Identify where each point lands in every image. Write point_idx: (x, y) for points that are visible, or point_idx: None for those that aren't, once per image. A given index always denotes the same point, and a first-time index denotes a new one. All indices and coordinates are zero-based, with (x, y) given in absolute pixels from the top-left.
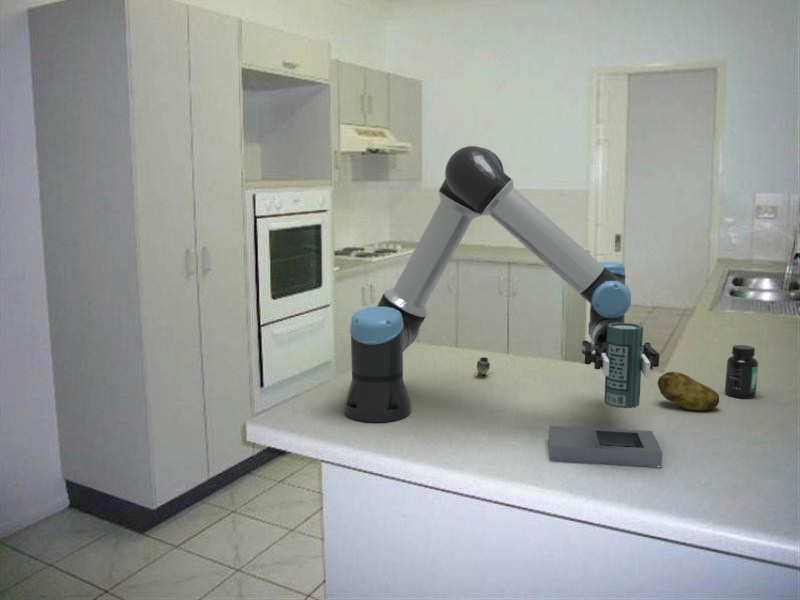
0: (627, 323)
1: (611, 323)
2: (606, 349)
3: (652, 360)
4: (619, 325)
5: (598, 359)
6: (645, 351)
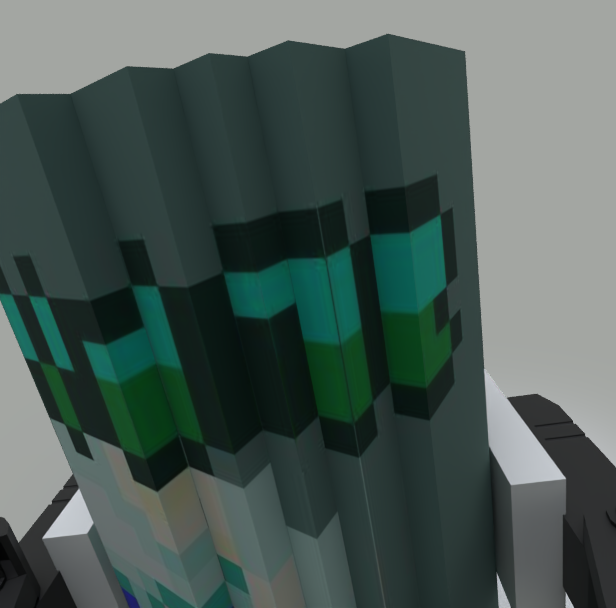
0: (66, 102)
1: (407, 39)
2: (486, 410)
3: (60, 490)
4: (250, 116)
5: (537, 405)
6: (9, 526)
